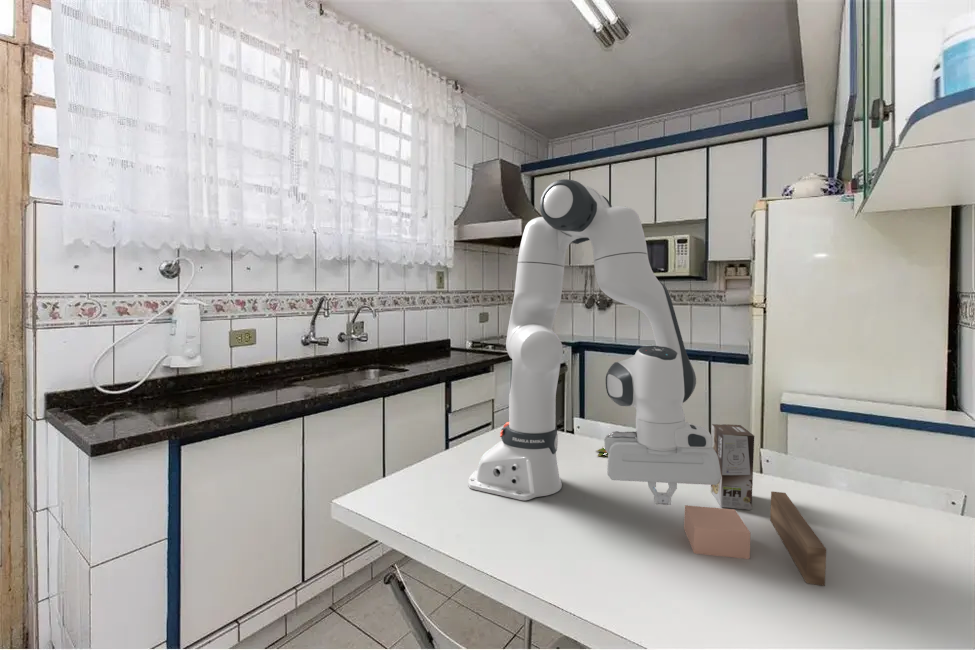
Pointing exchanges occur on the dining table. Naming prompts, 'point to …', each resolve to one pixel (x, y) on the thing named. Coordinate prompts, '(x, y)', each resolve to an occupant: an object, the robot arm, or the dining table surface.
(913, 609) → the dining table surface
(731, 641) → the dining table surface
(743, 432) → the coffee box
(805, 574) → the walnut board
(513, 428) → the robot arm
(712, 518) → the terracotta block
